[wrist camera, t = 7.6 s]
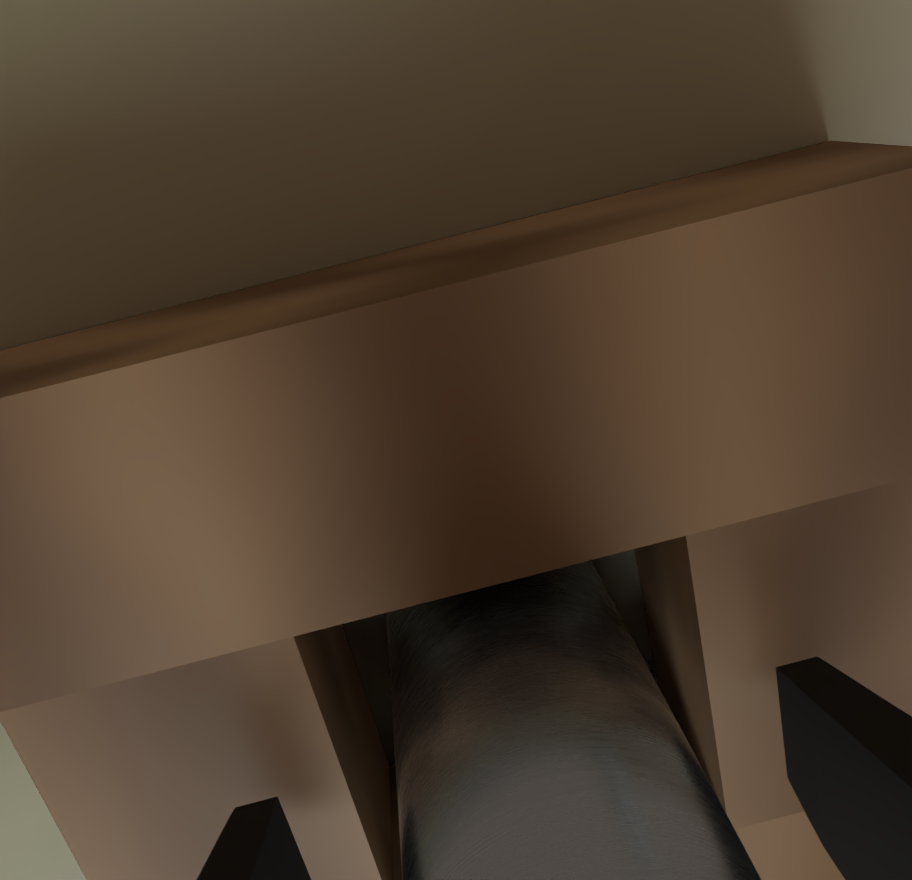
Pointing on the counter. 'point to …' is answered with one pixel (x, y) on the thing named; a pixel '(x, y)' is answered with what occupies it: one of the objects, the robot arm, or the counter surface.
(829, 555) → the bead block
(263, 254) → the counter surface
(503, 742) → the grey cylinder
